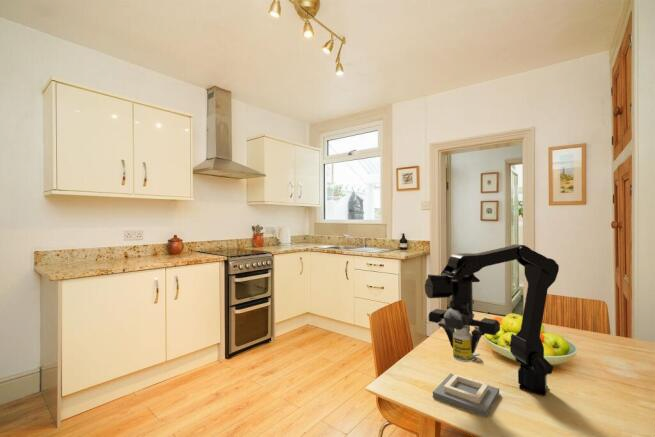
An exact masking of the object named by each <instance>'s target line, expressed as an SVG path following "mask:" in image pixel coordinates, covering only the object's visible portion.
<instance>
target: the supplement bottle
mask: <svg viewBox="0 0 655 437" xmlns="http://www.w3.org/2000/svg"><path fill="white" fill-rule="evenodd" d="M452 357H453V359H454V360H456V361H457V362H462V363H471V362H472V361H474V360H473V353H472V333H471V326H467V325H465V326H463V329H461V330H457V329H455V332H454V333H453V348H452Z"/></svg>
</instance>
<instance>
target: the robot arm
mask: <svg viewBox="0 0 655 437" xmlns="http://www.w3.org/2000/svg"><path fill="white" fill-rule="evenodd" d="M447 260H448V261H447V264H446V265H445V266H444V268H443V269H442V271H441V273H440V274H432V273H431V274H430V273H429V274H427V278H426V280H425V284H424V291H425V295H426V297H427V298H428V299H447V298H450V297H451V300H450V301H449V307H448V308H447V309H446V310H445V309H440V308H435V309H433V310H432V311H430V312H429V313H428V322H431V323H435V324H437V326H439V327H441V328H442V329H443V330H444V332H445V333H446V336H447V338H448V339H447V340H448V341H449V344H450V346H451V348H452V349H453V333H454V332H455V331H456V330H455V329H457V330H461V329H463V326H465V325H467V326H470V327H473V330H472V331H470V333H471V334H472V353H474V354H475V353H476V349H477V347H478V345H479V342H480V340H481V338H482V336H485V334H486V335H490V336H496V334H498V333H499V332H500V331H501V323H500V321H499V320H498V319H493V318H487V317H484V318H482V319H481V320H478V319H474V318H475V313H474V303H475V300H474V299H473V298H474V297H473V295H474V294H473V283H479V282H480V281H481V280H480V279H479V278H477V276H476V275H475V274H476V273H479V272H480V270H481V271H482V269H483V268H486V267H490V266H493V265H499V264H502V263H506V262H508V263H509V262H511V261H515V260H516V262H517V263H518V264H519V265H521V266H523V267H524V276H525V279H526V282H527V289H526V295H525V296H526V297H525V302H524V306H523V313H522V318H521V324H520V328H519V329H520V330H519V331H518V332H517V333H516V334H514V333H512V334H510V343H509V345H508V347H509V348H510V353H511V356H513V357H514V358H515V361H516V362H517V363H519V364H520V366H519V368H518V369H517V383H518V384H519V385H518V388H519V389H520V390H523V391H526V392H531V393H534V394H537V395H540V396H543V397H545V396H547V392H548V388H549V386H548V385H547V376H548V375H551V374H552V373H553V369H554V366H553V365H552V364H551V363H550V362H549V361H548V360H547V359H546V358H545V347H544V344H543V341H542V338H541V332H542V324H543V321H544V320H543V319H544V313H545V307H546V301H547V295H548V290H549V288H550V287H551V286H552V285H553V284H554V283H555V282H556V280H557V277H558V273H559V269H560V266H559V263H557V261H556V260H554V259H553V258H550V257H546V255H543V254H541V253H539V252H537V251H535V250H533V249H531V248H530V247H528V246H527V245H526V244H525V245H524V244H516V243H515V244H512V245H509V246H505V247H500V248H495V249H491V250H486V251H481V252H477V253H468V252H467V253H462V252H461V253H453V254H451V255H450V256H449V258H448V259H447Z"/></svg>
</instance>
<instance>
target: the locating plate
mask: <svg viewBox="0 0 655 437" xmlns="http://www.w3.org/2000/svg"><path fill="white" fill-rule="evenodd" d="M499 396H500V388H498V387H495V386H492V385H489V384H488V383H487V382H483V381H480V380H476V379H474V378H470V377H466V376H464V375H460V374H458V373H452V372H451V373H449V374H448V375H447V376H446V377H445V378H444V380H443V381H442V382H441V383H440V384H439V385H438V386H436V388H435V389H434V390H433V391H432V398H434V399H438V400H440V401H442V402H445V403H447V404H450V405H453V406H455V407H458V408H461V409H463V410H466V411H468V412H471V413H474V414H477V415H479V416H482V417H485V418H487V416H488V414H489V413H490V411H491V409H492V407H493V406H494V404H495V403H496V400H497V399H498V397H499Z"/></svg>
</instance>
